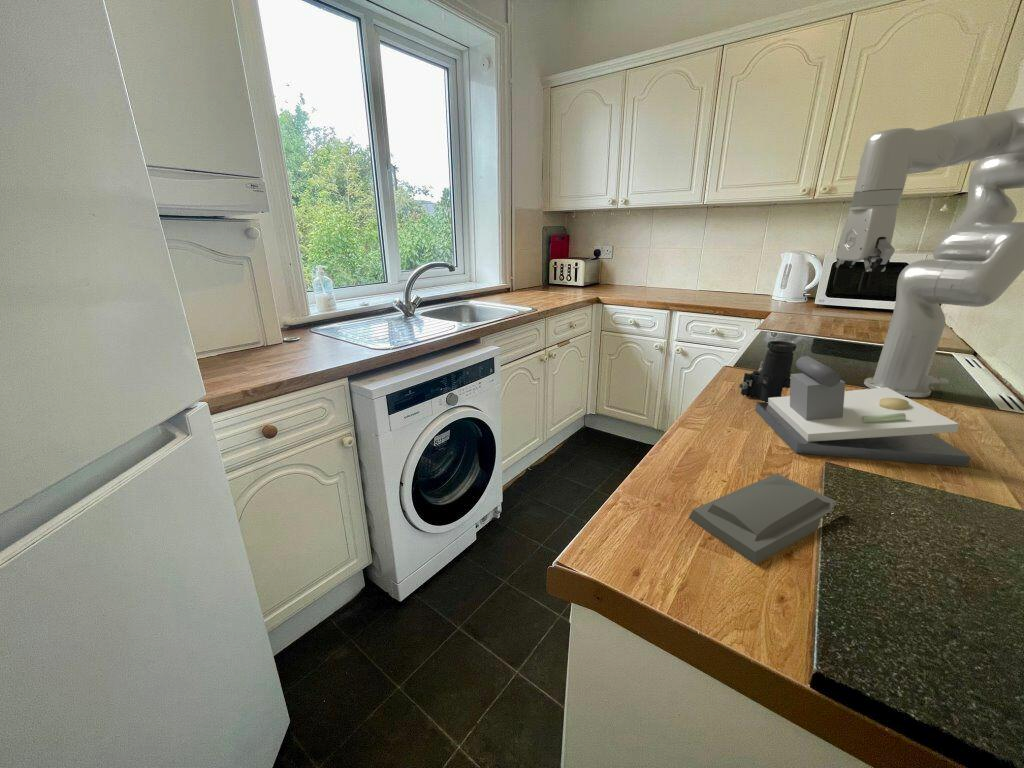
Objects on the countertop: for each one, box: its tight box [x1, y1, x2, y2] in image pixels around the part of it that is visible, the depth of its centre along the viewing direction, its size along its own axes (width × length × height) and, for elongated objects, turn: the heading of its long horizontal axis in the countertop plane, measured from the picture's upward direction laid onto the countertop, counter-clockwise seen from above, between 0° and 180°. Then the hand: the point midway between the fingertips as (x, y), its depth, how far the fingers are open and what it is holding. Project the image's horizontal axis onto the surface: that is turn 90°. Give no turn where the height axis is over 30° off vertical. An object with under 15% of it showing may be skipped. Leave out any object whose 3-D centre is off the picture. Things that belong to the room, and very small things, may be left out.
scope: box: [738, 340, 797, 402], centre depth 96 cm, size 8×14×10 cm
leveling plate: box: [768, 355, 959, 442], centre depth 78 cm, size 22×18×12 cm
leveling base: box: [754, 401, 971, 468], centre depth 80 cm, size 26×20×2 cm
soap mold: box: [688, 473, 842, 565], centre depth 57 cm, size 10×20×4 cm, turn 118°
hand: (853, 288), depth 88 cm, fingers open, 9 cm apart
